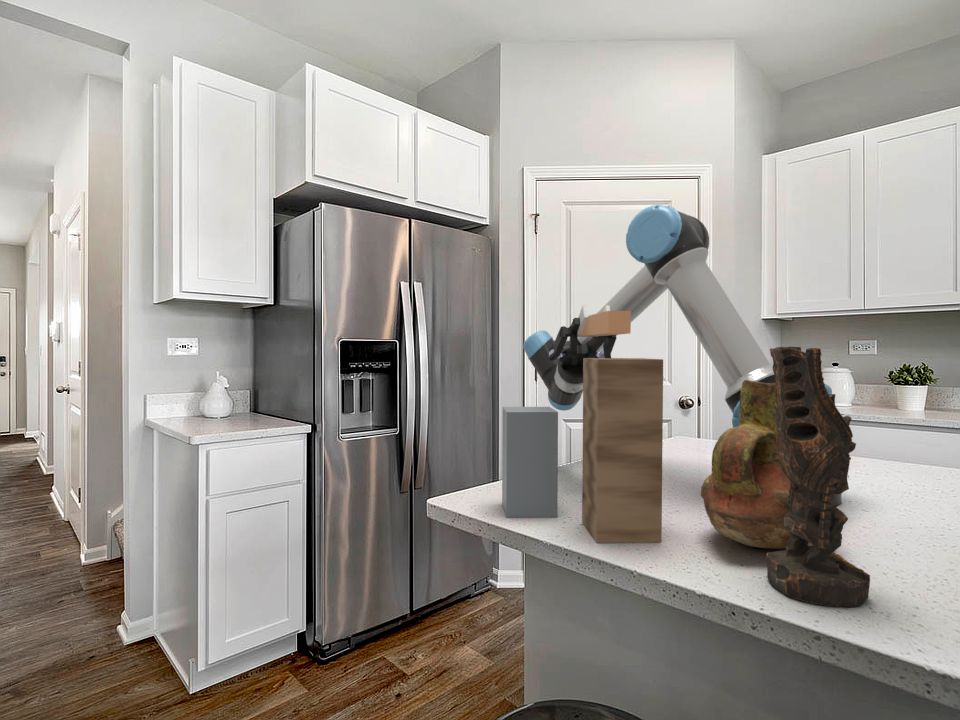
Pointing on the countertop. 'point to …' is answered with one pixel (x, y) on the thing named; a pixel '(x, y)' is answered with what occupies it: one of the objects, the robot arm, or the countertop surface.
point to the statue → (812, 485)
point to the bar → (607, 324)
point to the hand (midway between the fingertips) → (596, 311)
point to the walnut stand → (622, 449)
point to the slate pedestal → (529, 462)
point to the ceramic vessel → (749, 475)
